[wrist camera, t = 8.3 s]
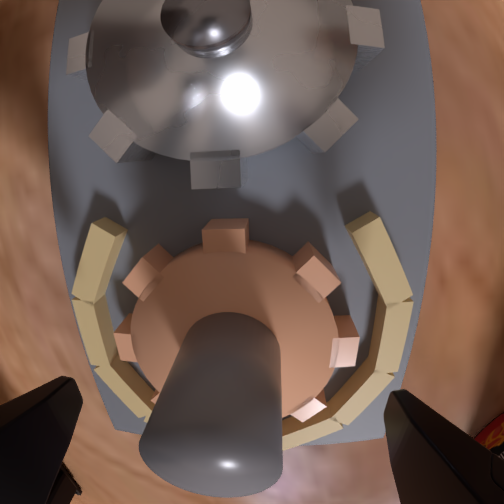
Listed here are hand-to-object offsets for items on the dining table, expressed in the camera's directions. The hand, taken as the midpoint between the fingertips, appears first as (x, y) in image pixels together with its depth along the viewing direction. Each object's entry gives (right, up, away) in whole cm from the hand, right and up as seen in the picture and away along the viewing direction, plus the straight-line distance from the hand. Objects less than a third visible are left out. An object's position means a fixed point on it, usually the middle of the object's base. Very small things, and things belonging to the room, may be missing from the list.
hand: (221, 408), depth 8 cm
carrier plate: (0, +5, +4) cm, 6 cm away
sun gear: (0, +10, +1) cm, 10 cm away
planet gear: (0, +1, +4) cm, 4 cm away
